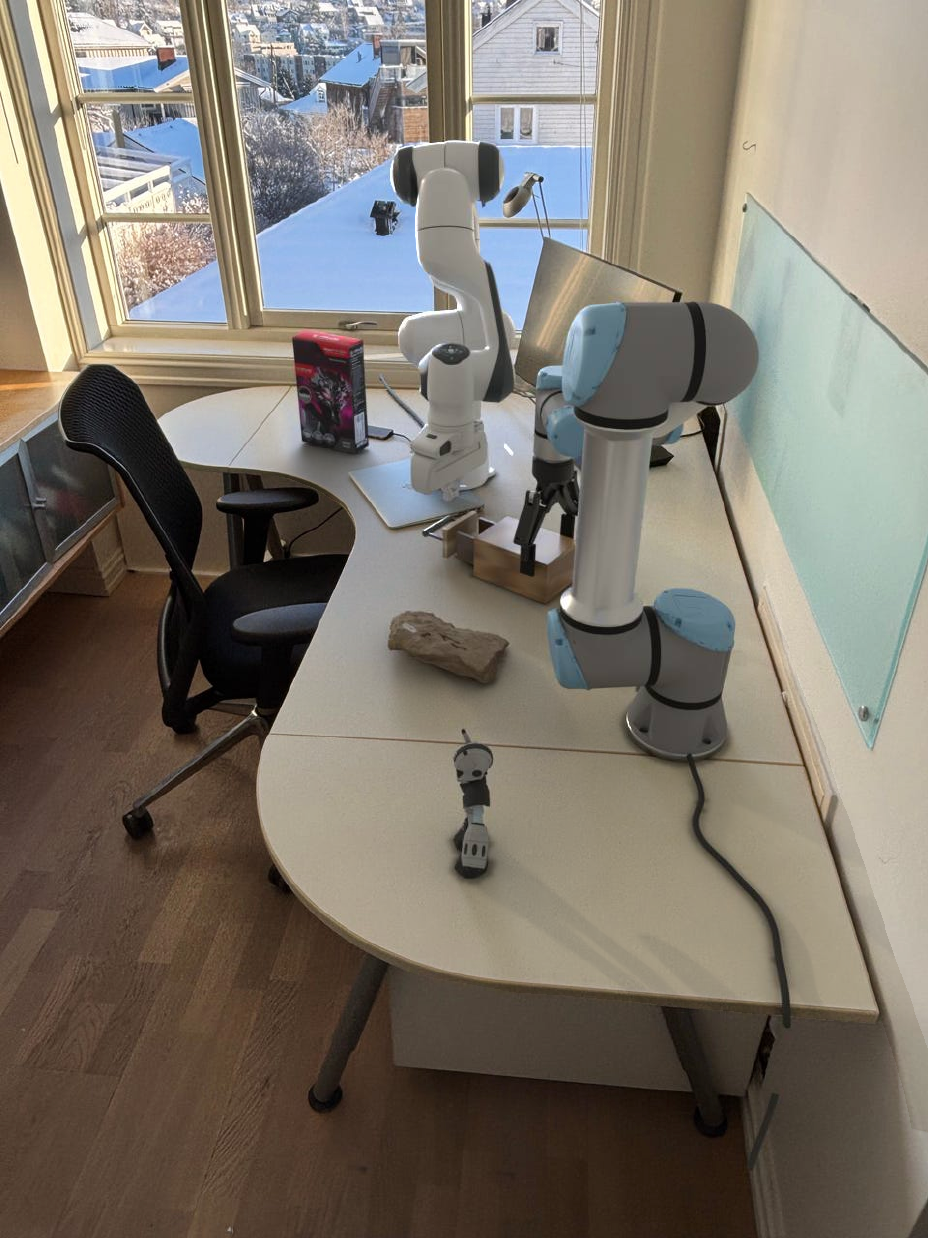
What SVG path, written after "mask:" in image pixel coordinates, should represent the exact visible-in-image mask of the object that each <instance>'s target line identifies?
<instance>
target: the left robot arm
mask: <svg viewBox="0 0 928 1238" xmlns="http://www.w3.org/2000/svg"><path fill="white" fill-rule="evenodd" d="M392 159H393V160H392V163H391V166H390V182H391V186H392V189H393V191H394V194H395V197H396V198H397V199H398V200H399V201H400V202H401V203H403V204H406V205H408V206H410V207H412V208H414V207H416V208H415V209H416V210H415V243H416V252H417V260H418V263H419V265H420V267H421V268H422V269H423V271H424V272H425V273H426V274H427V275H428V277H429V281H430V283H431V284H432V285H433V286H434V287H435V288H436V289H438V290H440V291H442V292H444V293H446V294H448V295H451V296H453V297H454V298H455V300H456V304H457V305H456V307H457V309H450V310H436V311H435V310H433V311H425V312H421V313H417V314H414V315H411V316H408V317H406V318H405V319H404V320H403V321H402V323H401V325H400V326H399V329H398V335H397V342H398V347H399V350H400V353H401V354H402V356H403V358H405V360H406V361H407V362H409V363H410V364H411V365H413V366H415V367H416V368H417V369H418V371H419V376H420V377H419V378H420V384H419V385H420V386H419V391H418V392H419V394H420V395H421V396H422V397H423V398H424V399H425V400H426V401H427V402H428V404H429V408H428V412H427V423H425V422H424V421H423V420H422V419H421V418H420V417H419V416H418V414H416V412H415V411H413V409H411V407H409V406H408V405H407V403H405V402H404V401H403V400H402V399H401V397H399V396H398V395H397V394H396V393H395V392H394V391H393V389H391V387H390V386H389V384H388V383H387V381H386V380H385V378H384V375H383V374H381V373H380V374H379V375H378V377H379V379H380V380H381V382H382V384H383V386H384V388H385V389H386V390H387V392H389V394H390V395H391V396H392V397H393V398H394V399H395V400H396V401H397V402H398V403H399V404H400V405H401V406H402V407H403V408H404V409H405V410H406V411H407V412H408V413H409V414H410V415H411V416H412V417H413V418H414V419H415V420H416V422H417V423H419V424H420V426H421V427H422V429H421V430H420V431H419V432H418V433H417V434H416V436H414V437H413V438H412V439H411V441H410V443H409V445H410V450H411V451H412V452H413V454H412V456H411V458H410V484H411V485H410V486H411V488H412V489H413V490H414V491H415V492H416V493H419V494H421V495H425V496H429V495H431V494H433V493H434V492H436V491H438V490H441V492H442V499H443V500H444V501H446V502H451V501H452V500H454V499H456V498H458V497H459V496H460V491H468V490H472V489H476V488H478V487H481V486H483V485H484V484H485V483H486V482H487V481H488V479H489V478H491V477H493V476H494V475H496V471H495V468H493V467H492V466H491V465H490V453H489V451H490V450H489V443H488V440H487V434H486V432H485V424H484V422H483V421H484V420H482V403H494V404H495V403H496V404H499V403H501V402H502V401H504V400H505V399H507V398H508V397H509V396H510V395H511V394H512V393H513V391H514V389H515V385H516V368H515V365H514V361H513V359H512V356H511V350H512V349H513V347H514V343H515V342H516V341H515V340H516V326H515V323H514V321H513V318H512V317H511V315H510V314H509V313H508V312H507V311H505V309H503V308H502V303H501V298H500V293H499V288H498V283H497V280H496V276H495V271H494V269H493V267H492V265H491V263H490V262H489V261H488V260H486V259H484V258H483V257H482V254H481V232H480V230H481V229H480V221H479V212H478V207H477V203H476V202H481V208H482V209H483V208H485V207H486V204H487V203H489V202H491V201H493V200H495V199H496V197H497V196H498V195H499V194H500V193H501V188H502V186H503V184H504V181H505V176H506V175H505V173H506V167H505V162H504V158H503V155H502V154H501V151H500V148H499V147H498V145H496V143H493V142H490V141H484V140H479V141H478V142H476V141H465V140H447V141H444V142H433V143H425V144H421V145H416V146H414V144H411V145H405V146H402V147H400V148H398V149H397V150H396V152H395V154H394V155H393V158H392ZM503 447H504V449H506V451H507V452H508V453H509V454H510V455H511V456H513V455H514V452H513V451H512V450H511V449H510V447H509V446H508V445H507V444H506V443H504V444H503ZM460 485H466V486H467V487H460Z"/></svg>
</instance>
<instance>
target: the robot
mask: <svg viewBox="0 0 928 1238" xmlns="http://www.w3.org/2000/svg"><path fill="white" fill-rule="evenodd" d="M461 734H462V737H463V739H464V742H465V744H463V745H461V746H460V747H459V748H458V749H457V750H456V751H455V753H454V756H453V757H452V760H453V768H455V772H456V774H455V775H456V781H457V782H458V783H459V786H460V789H461V791H462V793H463V794H462V809H464V812H465V814H466V817H465V818H464V821H463V823H462V826H461V827H460V829H459V830H458V831H457V833H456V834H455V835H454V837H453V838H452V841H453V843H454V846H455V847H456V849H457V850H459V851H460V853H459V855H458V858H457V859H456V863H455V865H454V870H455V871H456V872H457V873H458V874H459V875H460V876H461V877H464V878H468V879H472V878H477V877H479V876H481V875H483V874H486V873H487V872H488V867H489V863H490V862H489V848H490V834H489V831H488V826H486V824H485V823H484V818H483V817H484V816H483V815H484V813H485V812H484V810H485V809H484V806H485V807H487V808H491V792H490V788H489V785H488V784H487V775H488V771H489V769H491V768H492V766H493V764H494V755H493V751H492V750H491V749H490V747H488V746H487V745H486V744H484V743H482V742H479V741H476V740H475V741H472V740H471V738H470V736H469V735H468V733H467V730H466V729H465V728H462V729H461Z"/></svg>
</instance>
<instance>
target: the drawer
mask: <svg viewBox="0 0 928 1238" xmlns="http://www.w3.org/2000/svg"><path fill="white" fill-rule="evenodd" d="M496 523H497V522H495V521H493V520H491V519H487V518H484V517H481V516H480V517H479V518H478V511H477V510H471V511H469V512H467V513H466V514H464V515H462V516H461V517H459V518H455V516H454V515H453V514H449V515H447V516H445V517H444V518H443V517H442V518H441V519H440V520H439V521H436V522H435V523H433V524H432V525H430V526H429V527H427V528H425V529H423V530H422V531H421V535H422V536H423V537H424V538H427V537H430V538H432V539H436V540H438V541H441V542H442V558H444V559H446V560H448V559H450V558H451V557H453V556H455V555H456V556H455V558H456V559H458V560H461V561H462V562H466V563H468V564H471V565H473V566H474V537H476V536H477V535H479V534H481V533H482V532H484V531H485V530H487V529H488V528H490V527H491V526H493V525H495V524H496ZM441 529H442V532H441V533H442V536H441V535H438V534H435V533H436V532H437V531H439V530H441Z"/></svg>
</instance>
